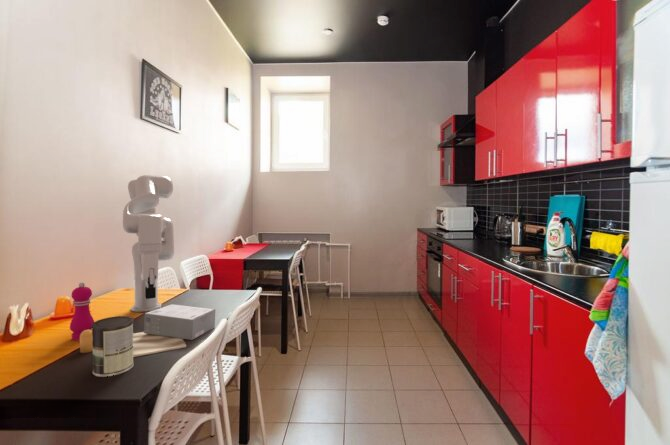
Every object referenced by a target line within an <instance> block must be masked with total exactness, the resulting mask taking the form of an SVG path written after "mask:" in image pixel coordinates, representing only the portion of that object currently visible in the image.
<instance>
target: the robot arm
mask: <svg viewBox="0 0 670 445" xmlns="http://www.w3.org/2000/svg"><path fill="white" fill-rule="evenodd" d="M127 189H128V194H129V197H130V201H128V203H126V204H125V206H124V208H123V210H122V229H123V230H124V232H125V233H127V234H135V235H136V236H137V237H138V242H137V241H136V242H134V244H133V245H132V246H131V254H132V260H133V270H134V274H133V275H134V305H131V307H130V311H132V312H136V313H140V312H141V313H143V312H144V313H147V312H150V311H153V310H156V309H159V308H162V303H160V302H159V300H158V298H159V296H158V295H159V293H158V292H159V289H158V287H159V286H158V284H159V283H158V279H159V262H160V261H170V260H172V259H173V258H174V256H175V240H174V239H175V234H174V224H173V221H172V220H171V219H170V218H167V217H164V216H163V215H162V214H160V213H156V211H157V210H156V207H157V206H158V205H159V203H160V202H159V201H160V199H168V198H169V199H170V196H171V195H172V194H173V191H174V185H173V181H172V179H171V177H168V176H165V175H150V174H149V175H140V176H139V177H137V178H136V179H132V180H130V181H129V182H128V185H127Z"/></svg>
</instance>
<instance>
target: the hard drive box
mask: <svg viewBox="0 0 670 445" xmlns="http://www.w3.org/2000/svg"><path fill="white" fill-rule="evenodd" d="M215 326H216V308H207V307H198V306H189V305H183V304H182V305H181V304H175V303H172V304H168V305H166V306H163V307H162V306H161V308H159V309H156V310H152V311H146V312H144V322H143V332H144V333H146V334H153V335H160V336H167V337H174V338H182V339H183V340H191V341H192V340H194V339H195V340H196V338H198V337H200V336H202V335H203V334H205V333H207V332H209V331H211V330H213V329H214V328H215Z"/></svg>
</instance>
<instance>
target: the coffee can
mask: <svg viewBox="0 0 670 445" xmlns="http://www.w3.org/2000/svg"><path fill="white" fill-rule="evenodd" d="M133 326H134V318H133V317H132V316H128V315H127V316H125V315H124V316H123V315H119V316H111V317H110V316H109V317H106V318H101V319H98V320H96V321H94V323H92V329H91V330H92V345H93V351H92V375H94V376H95V377H100V378H104V377H105V378H107V376H108V377H113V375H114V376H119V375H121V374H123V373H126V372H128V371H130V370H131V369H132V368H133V367H134V357H133V333H134V327H133Z"/></svg>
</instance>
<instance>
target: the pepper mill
mask: <svg viewBox="0 0 670 445" xmlns="http://www.w3.org/2000/svg"><path fill="white" fill-rule="evenodd" d="M92 295H93V291H92V289H91V288H90V287H88V286H86V284H85V283H84V282H80V283H78V287H75V288H74V289H73V290H72V292H71V298H72V300H74V301H73V304H72V305H73V306H74V314H73V317H72V318H71V321H70V324H69V330H71V331H72V333H71V340H73V341H80V335H81V333H82V332H83V331H84V330H87V329H90V330H92V323H94V322H95V320H94V318H93V316H92V314H91V313H90V304H91V299H90V298H91V297H92Z"/></svg>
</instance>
